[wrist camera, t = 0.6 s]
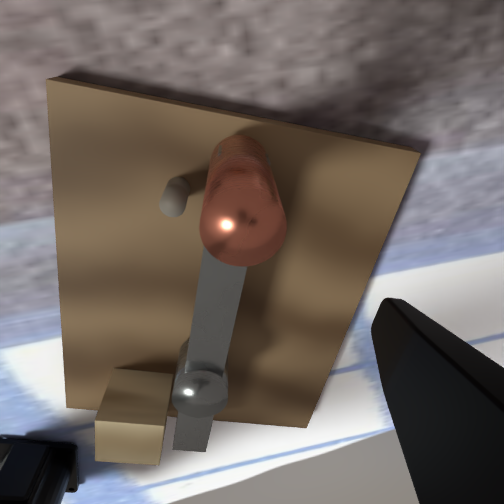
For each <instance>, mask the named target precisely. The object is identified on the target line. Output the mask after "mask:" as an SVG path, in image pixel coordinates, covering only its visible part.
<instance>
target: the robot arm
mask: <svg viewBox="0 0 504 504" xmlns="http://www.w3.org/2000/svg"><path fill="white" fill-rule="evenodd" d="M371 335H372V340H373V345H374V349H375V354H376V359H377V364H378V369H379V374H380V379H381V383H382V387H383V391H384V395H385V398H386V402H387V405H388V408H389V411H390V414H391V417H392V420H393V423H394V426H395V429H396V432H397V435H398V439H399V442H400V445H401V448H402V451H403V454H404V457H405V460H406V463H407V467H408V469H409V473H410V476H411V479H412V482H413V485H414V488H415V491H416V494H417V497H418V501H419V503H420V504H504V368H503V367H502V366H500V365H499V364H497V363H496V362H494V361H493V360H491V359H490V358H488V357H487V356H485V355H484V354H482V353H481V352H479V351H478V350H476V349H475V348H474V347H472V346H471V345H469V344H468V343H466V342H465V341H463V340H462V339H460V338H459V337H457V336H456V335H454V334H453V333H451V332H450V331H448V330H447V329H445V328H444V327H443V326H441V325H440V324H438V323H437V322H435V321H434V320H432V319H431V318H429V317H428V316H426V315H425V314H423V313H422V312H420V311H419V310H417V309H416V308H414V307H413V306H412V305H410V304H409V303H407V302H406V301H404V300H402V299H396V298H385V299H384V300H383V301H382V302H381V304H380V307H379V309H378V311H377V314H376V316H375V318H374V321H373V323H372V327H371ZM78 487H79V474H78V451H77V446H76V445H74V444H71V443H57V442H43V441H29V440H16V439H2V438H0V504H61V502H62V499H63V496H64V494H65V492H71V493H73V492H76V491H77V490H78Z"/></svg>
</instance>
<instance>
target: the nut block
mask: <svg viewBox="0 0 504 504" xmlns="http://www.w3.org/2000/svg"><path fill="white" fill-rule="evenodd" d="M172 379H173V374H167V373H157V372H147V371H137V370H127V369H117V368H113V371H112V373H111V376H110V379H109V382H108V385H107V388H106V390H105V393H104V396H103V399H102V402H101V405H100V407H99V410H98V413H97V416H96V419H95V461H102V462H117V463H132V464H147V465H159V463H160V457H161V451H162V445H163V440H164V434H165V428H166V422H167V416H168V409H169V402H170V394H171V387H172Z"/></svg>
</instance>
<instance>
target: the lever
mask: <svg viewBox="0 0 504 504" xmlns="http://www.w3.org/2000/svg"><path fill="white" fill-rule="evenodd" d="M270 164H271V163H270V160H269V156H268V154H266V151H265V150H264V148H263V147H262V145H261V144H260V143H259V142H258V141H256V140H255V139H253V138H251V137H249V136H245V135H233V136H230V137H227V138H225V139H223V140H222V141H221V142H219V143H218V144H217V145H216V147H215V148H214V150H213V152H212V155H211V158H210V164H209V170H208V176H207V182H206V188H205V194H204V199H203V205H202V211H201V217H200V224H199V231H200V237H201V240H202V243H203V244H204V247H203V253H202V260H201V266H200V273H199V279H198V286H197V292H196V299H195V305H194V312H193V318H192V325H191V331H190V338H189V339H188V340H186V341H185V342H184V343H183V344H182V345H181V347H180V350H179V356H178V362H177V368H176V374H175V380H174V387H173V393H172V403H173V405H174V407H175V408H176V409H177V410H178V415H177V422H176V428H175V435H174V442H173V449H172V450H183V451H197V452H206V448H207V444H208V439H209V435H210V430H211V426H212V421H213V417H214V415H215V414H217V413H219V412H221V411H222V410H223V409H224V408H225V406H226V405H227V402H228V350H229V346H230V341H231V337H232V332H233V328H234V324H235V319H236V315H237V310H238V306H239V301H240V297H241V292H242V288H243V284H244V279H245V275H246V270H247V266H253V265H257V264H260V263H262V262H264V261H266V260H268V259H269V258H271V257H272V256H273V255H274V254H275V253H276V252H277V251H278V250H279V249H280V247H281V246H282V244H283V242H284V240H285V237H286V232H287V221H286V217H285V213H284V210H283V207H282V203H281V200H280V197H279V193H278V190H277V187H276V183H275V180H274V177H273V173H272V170H271V167H270Z"/></svg>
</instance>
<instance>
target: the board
mask: <svg viewBox="0 0 504 504" xmlns="http://www.w3.org/2000/svg"><path fill="white" fill-rule="evenodd" d="M46 89H47V105H48V121H49V137H50V153H51V169H52V185H53V201H54V217H55V233H56V249H57V265H58V281H59V297H60V313H61V329H62V345H63V361H64V377H65V393H66V408H75V409H86V410H99V407H100V405H101V402H102V399H103V396H104V393H105V390H106V388H107V385H108V382H109V379H110V376H111V373H112V371H113V368H117V369H127V370H137V371H147V372H157V373H167V374H173V379H172V387H171V394H170V402H169V409H168V416H169V417H177V415H178V410H177V409H176V408H175V407H174V405H173V403H172V393H173V387H174V380H175V374H176V368H177V362H178V356H179V350H180V347H181V345H182V344H183V343H184V342H185V341H186V340H188V339H189V338H190V331H191V325H192V318H193V312H194V305H195V299H196V292H197V286H198V279H199V273H200V266H201V260H202V253H203V247H204V244H203V243H202V240H201V237H200V231H199V224H200V217H201V211H202V205H203V199H204V194H205V188H206V182H207V176H208V170H209V164H210V158H211V155H212V152H213V150H214V148H215V147H216V145H217V144H218V143H219V142H221V141H222V140H223V139H225V138H227V137H230V136H233V135H245V136H249V137H251V138H253V139H255V140H256V141H258V142H259V143H260V144H261V145H262V147H263V148H264V150H265V151H266V154H268V156H269V160H270V163H271V164H270V167H271V170H272V173H273V177H274V180H275V183H276V187H277V190H278V193H279V197H280V200H281V203H282V207H283V210H284V213H285V217H286V221H287V232H286V237H285V240H284V242H283V244H282V246H281V247H280V249H279V250H278V251H277V252H276V253H275V254H274V255H273V256H272V257H271V258H269V259H268V260H266V261H264V262H262V263H260V264H257V265H253V266H247V270H246V275H245V279H244V284H243V288H242V292H241V297H240V301H239V306H238V310H237V315H236V319H235V324H234V328H233V332H232V337H231V341H230V346H229V350H228V402H227V405H226V406H225V408H224V409H223V410H222V411H221V412H219V413H217V414H215V415H214V417H213V420H216V421H228V422H239V423H251V424H263V425H275V426H287V427H298V428H307V426H308V423H309V421H310V419H311V416H312V414H313V411H314V409H315V407H316V404H317V402H318V399H319V397H320V395H321V392H322V390H323V387H324V385H325V383H326V380H327V378H328V375H329V373H330V371H331V368H332V366H333V363H334V361H335V359H336V356H337V354H338V351H339V349H340V347H341V344H342V342H343V339H344V337H345V335H346V332H347V330H348V327H349V325H350V323H351V320H352V318H353V315H354V313H355V311H356V308H357V306H358V303H359V301H360V299H361V296H362V294H363V291H364V289H365V287H366V284H367V282H368V279H369V277H370V275H371V272H372V270H373V267H374V265H375V263H376V260H377V258H378V255H379V253H380V251H381V248H382V246H383V243H384V241H385V239H386V236H387V234H388V231H389V229H390V227H391V224H392V222H393V219H394V217H395V215H396V212H397V210H398V207H399V205H400V203H401V200H402V198H403V196H404V193H405V191H406V188H407V186H408V184H409V181H410V179H411V176H412V174H413V172H414V169H415V167H416V164H417V162H418V160H419V157H420V155H421V153H420V152H418V151H416V150H415V149H413V148H412V147H407V146H402V145H397V144H392V143H387V142H382V141H377V140H372V139H367V138H362V137H357V136H352V135H347V134H342V133H337V132H332V131H327V130H322V129H317V128H312V127H307V126H302V125H297V124H292V123H287V122H282V121H277V120H272V119H267V118H262V117H257V116H252V115H247V114H242V113H237V112H232V111H227V110H222V109H217V108H212V107H207V106H202V105H197V104H192V103H187V102H182V101H177V100H172V99H167V98H162V97H157V96H151V95H146V94H141V93H136V92H131V91H126V90H121V89H116V88H111V87H106V86H101V85H96V84H91V83H86V82H81V81H76V80H71V79H66V78H61V77H53V78H49V79H46Z"/></svg>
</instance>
